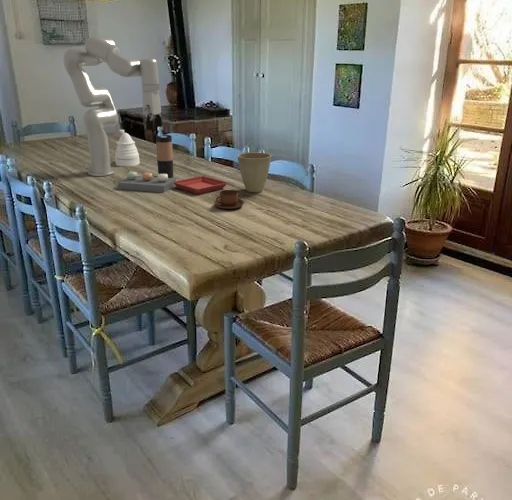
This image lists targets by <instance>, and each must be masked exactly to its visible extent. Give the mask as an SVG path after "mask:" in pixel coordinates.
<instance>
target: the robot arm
mask: <svg viewBox="0 0 512 500" xmlns="http://www.w3.org/2000/svg"><path fill="white" fill-rule="evenodd" d="M102 63H106V65H107V67H108V69H109V70H111V71H112V72H113V73H115V74H117V75H119V76H121V77H124V78H134V77H140V79H141V80H140V81H141V89H142V90H141V91H142V112H143V115H144V119H145V124H146V130H147V131H149V130H150V131H151V130H152V131H153V130H154V129H155V127H156V128H162V127H163V120H162V119H163V118H162V117H163V116H162V114H163V113H162V104H161V97H160V92H161V90H160V80H159V79H160V77H159V70H158V69H159V68H158V61H157V59H155V58H125V57H124V58H123V57H122V56H121V50H120V48H119V47H118V46H117V45H116V43H115V41H114V40H113V38H111V37H109V36H96V35H95V36H94V35H93V36H90V37H88V38H87V39H86V40H85V42H84V46H73V47H70V48H68V49H67V50H65V52H64V54H63V65H64V69H65V71H66V73H67V75H68V76H69V78H70V80H71V82H72V85H73V87H74V90H75V93H76V95H77V98H78V101H79V103H80V105H81V106H82V107H84V108H91V109H89V110H86V111H85V112H84V114H83V117H82V118H83V124H84V127H85V130H86V136H87V144H88V152H89V161H90V164H87V163H86V164H84V166H83V167H84V169H85V170H88V173H87V174H88V175H90V176H91V177H104V176H111V175H113V174H115V170H114V169H113V168H112V167H111V158H110V157H111V156H110V147H109V138H108V134H107V133H106V131H105V130H104V129H106V128H111V127H115V126H116V125H118V121H119V116H118V115H119V114H118V112H117V109H116V107H115V104H114V101H113V99H112V96H111V93H110V91H109V90H108V89H107V88H106V87H105V86H102V85H94V84H93V82H92V80H91V78H90V75H89V74H88V73H87V71H86V70H85V69H84V68H82V67H94V66H98V65H101V64H102ZM95 107H98V108H95ZM153 118H154V119H153Z"/></svg>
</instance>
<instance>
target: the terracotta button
mask: <svg viewBox="0 0 512 500" xmlns="http://www.w3.org/2000/svg"><path fill="white" fill-rule="evenodd" d="M141 176H142V179H144V180H150V179H153V177H154V176H153V173H152V172H143V173H141Z"/></svg>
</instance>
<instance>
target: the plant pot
mask: <svg viewBox="0 0 512 500" xmlns="http://www.w3.org/2000/svg"><path fill="white" fill-rule="evenodd" d="M237 161H238V167H239V172H240V175H241V176H240V177H241V179H242V182H243V185H244V188H245V190H246V192H248V193H260V192H263V190H264V188H265V185H266V182H267V179H268V176H269V172H270V166H271V161H272V154H270V153H267V152H257V151H256V152H254V151H253V152H252V151H251V152H242V153H239V154H237Z"/></svg>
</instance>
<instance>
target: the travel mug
mask: <svg viewBox="0 0 512 500" xmlns="http://www.w3.org/2000/svg"><path fill="white" fill-rule="evenodd" d="M172 139H173V137H172V135H170V134H163V135H161V136H159V135H156V136H155V146H156V147H155V148H156V163H157V171H158V172H157V173H158V174H168V178H174V154H173V140H172ZM158 174H157V175H158Z"/></svg>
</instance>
